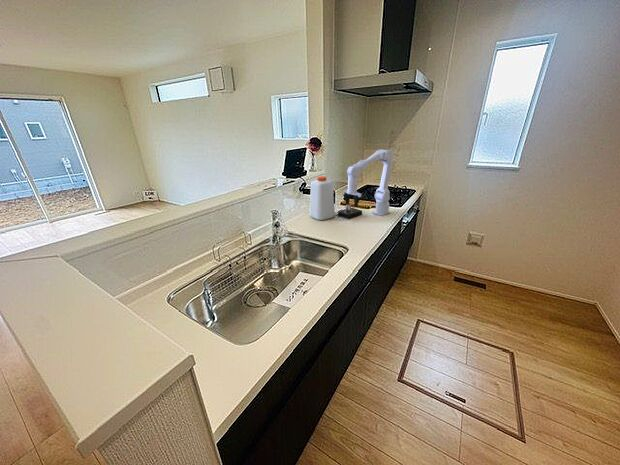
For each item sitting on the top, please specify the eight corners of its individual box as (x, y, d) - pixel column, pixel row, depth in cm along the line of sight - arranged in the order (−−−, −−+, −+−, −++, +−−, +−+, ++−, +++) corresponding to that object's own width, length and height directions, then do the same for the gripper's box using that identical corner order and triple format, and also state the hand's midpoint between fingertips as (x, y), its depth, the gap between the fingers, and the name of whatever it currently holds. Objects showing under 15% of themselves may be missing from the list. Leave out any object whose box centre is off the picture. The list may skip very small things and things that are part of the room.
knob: (344, 210, 179) (344, 205, 177) (348, 209, 181) (348, 203, 180) (348, 212, 176) (348, 206, 174) (352, 211, 178) (352, 205, 177)
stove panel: (351, 211, 187) (351, 207, 186) (361, 214, 180) (362, 210, 179) (337, 215, 180) (338, 211, 178) (348, 219, 172) (348, 214, 171)
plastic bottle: (337, 217, 177) (337, 177, 165) (319, 221, 169) (319, 180, 158) (324, 211, 188) (323, 174, 177) (307, 215, 180) (306, 176, 169)
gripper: (340, 184, 166) (339, 204, 171) (356, 188, 155) (355, 209, 161) (347, 182, 170) (347, 202, 175) (364, 186, 159) (363, 206, 165)
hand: (351, 205), depth 168 cm, fingers open, 7 cm apart
